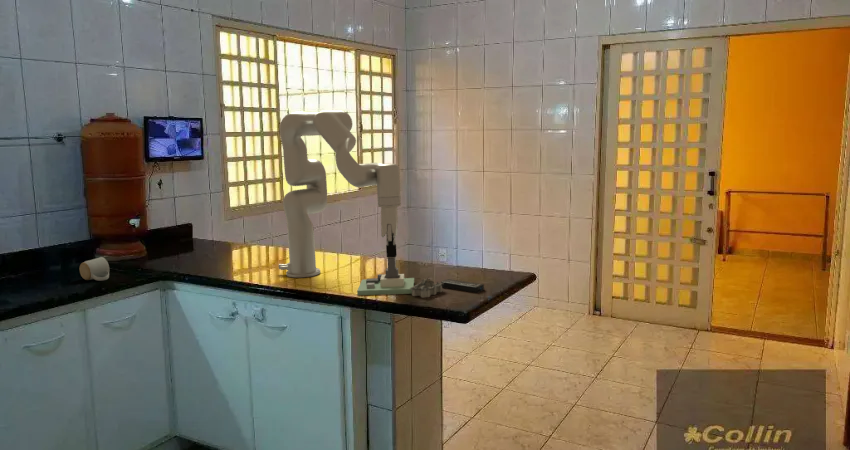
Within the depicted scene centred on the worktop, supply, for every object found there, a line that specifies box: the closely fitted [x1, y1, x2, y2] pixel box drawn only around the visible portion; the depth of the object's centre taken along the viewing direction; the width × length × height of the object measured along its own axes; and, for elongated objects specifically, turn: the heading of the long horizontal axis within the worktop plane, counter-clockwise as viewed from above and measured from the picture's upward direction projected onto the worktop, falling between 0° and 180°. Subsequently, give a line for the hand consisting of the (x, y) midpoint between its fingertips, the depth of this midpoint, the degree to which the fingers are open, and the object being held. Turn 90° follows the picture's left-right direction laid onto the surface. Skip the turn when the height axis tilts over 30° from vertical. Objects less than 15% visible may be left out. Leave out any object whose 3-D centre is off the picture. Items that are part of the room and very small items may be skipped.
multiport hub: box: [440, 278, 485, 294], centre depth 205 cm, size 4×14×2 cm, turn 52°
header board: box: [356, 273, 415, 296], centre depth 208 cm, size 18×15×4 cm
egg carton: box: [410, 277, 444, 298], centre depth 201 cm, size 11×8×4 cm
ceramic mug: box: [79, 256, 110, 282], centre depth 237 cm, size 11×8×8 cm
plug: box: [385, 257, 400, 278], centre depth 208 cm, size 4×3×9 cm
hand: (391, 256), depth 207 cm, fingers closed
